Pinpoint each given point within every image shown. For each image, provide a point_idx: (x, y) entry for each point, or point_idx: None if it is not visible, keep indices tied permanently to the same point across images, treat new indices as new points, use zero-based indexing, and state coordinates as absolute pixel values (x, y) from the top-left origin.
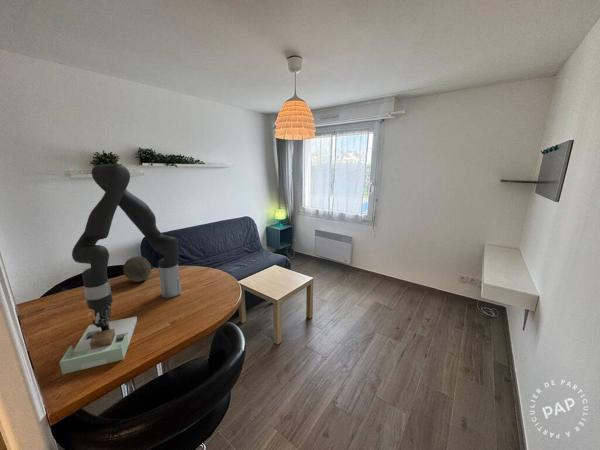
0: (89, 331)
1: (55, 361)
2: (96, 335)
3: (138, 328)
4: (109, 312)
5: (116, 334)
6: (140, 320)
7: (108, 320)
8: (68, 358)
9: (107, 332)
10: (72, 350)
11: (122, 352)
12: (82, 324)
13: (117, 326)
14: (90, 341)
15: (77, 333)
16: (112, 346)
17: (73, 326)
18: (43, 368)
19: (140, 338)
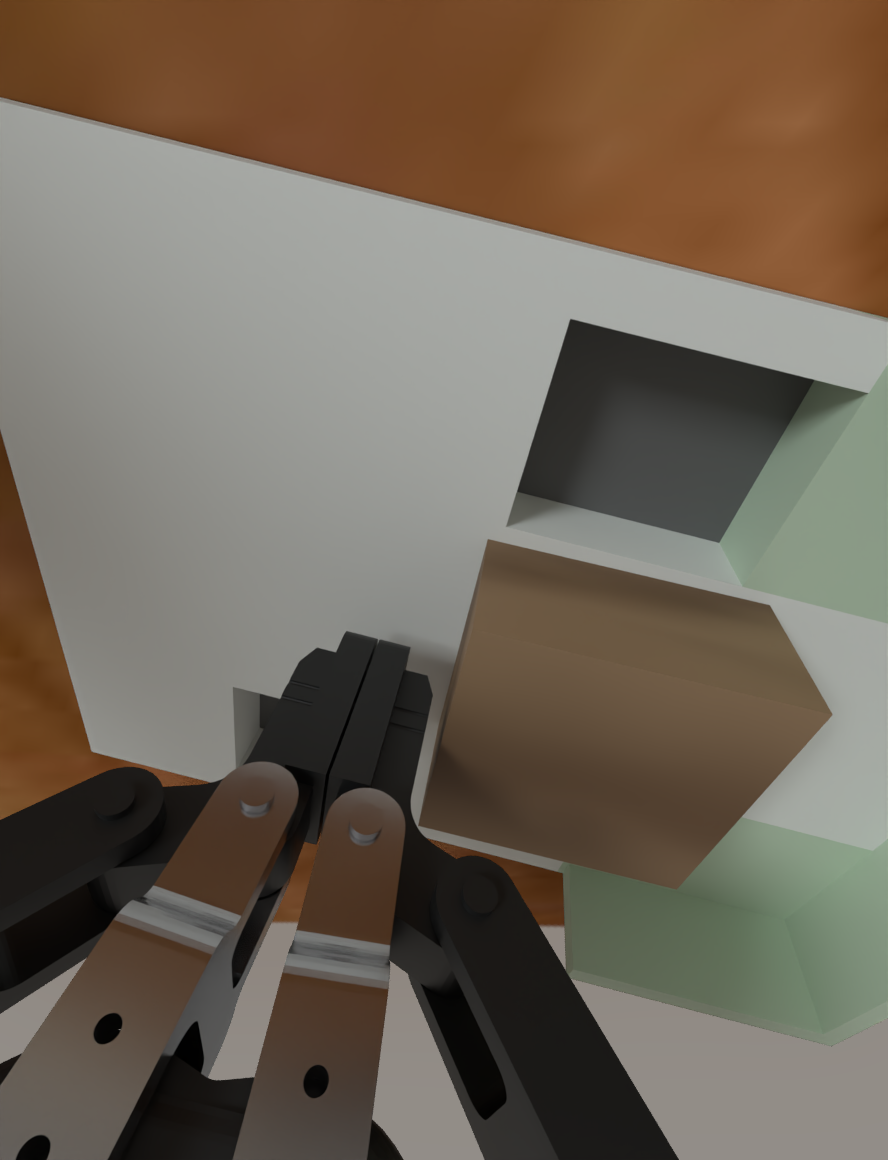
0: (224, 757)
1: (524, 880)
2: (525, 826)
3: (356, 67)
4: (48, 1038)
5: (490, 523)
6: (19, 3)
7: (263, 806)
8: (694, 922)
9: (548, 722)
10: (588, 910)
11: None
12: (22, 741)
13: (226, 496)
14: (648, 882)
15: (169, 774)
16: (839, 592)
17: (44, 784)
18: (562, 917)
19: (855, 10)
